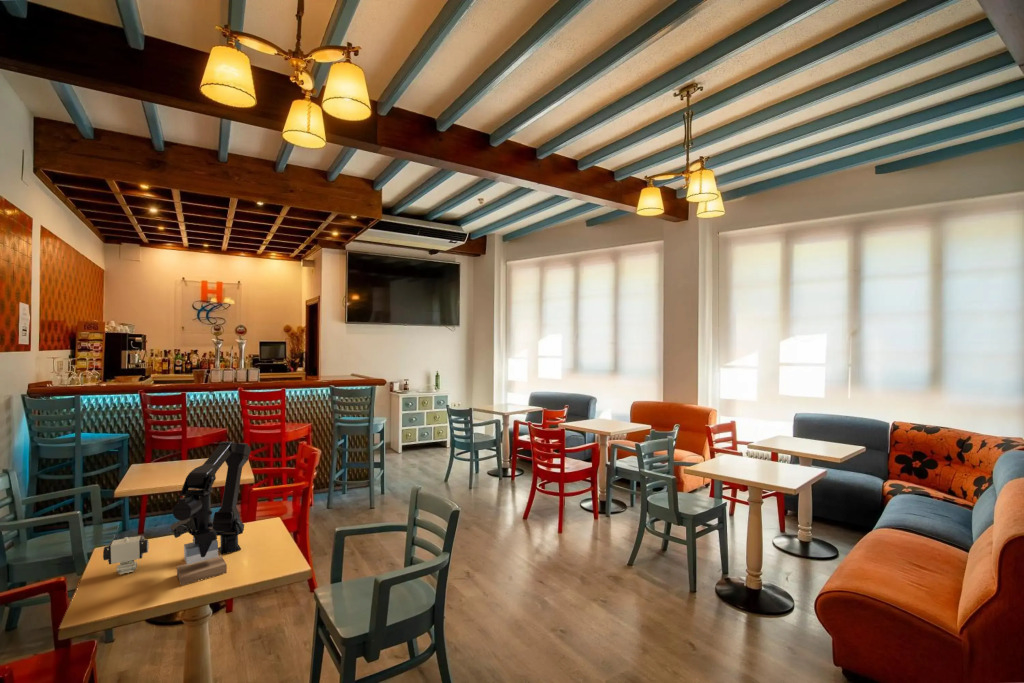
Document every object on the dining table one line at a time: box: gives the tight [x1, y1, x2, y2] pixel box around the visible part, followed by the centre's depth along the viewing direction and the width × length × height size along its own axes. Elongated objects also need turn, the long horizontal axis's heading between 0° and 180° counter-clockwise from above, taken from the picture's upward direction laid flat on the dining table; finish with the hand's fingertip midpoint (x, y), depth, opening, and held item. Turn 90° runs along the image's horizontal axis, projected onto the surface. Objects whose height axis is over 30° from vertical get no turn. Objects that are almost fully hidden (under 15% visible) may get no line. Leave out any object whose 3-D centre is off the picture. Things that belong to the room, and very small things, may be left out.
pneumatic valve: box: [102, 535, 150, 575], centre depth 169 cm, size 6×12×12 cm, turn 120°
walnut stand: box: [176, 554, 228, 586], centre depth 168 cm, size 9×13×3 cm
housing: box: [183, 539, 219, 565], centre depth 168 cm, size 9×5×5 cm, turn 131°
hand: (201, 554), depth 168 cm, fingers closed on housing, 5 cm apart
